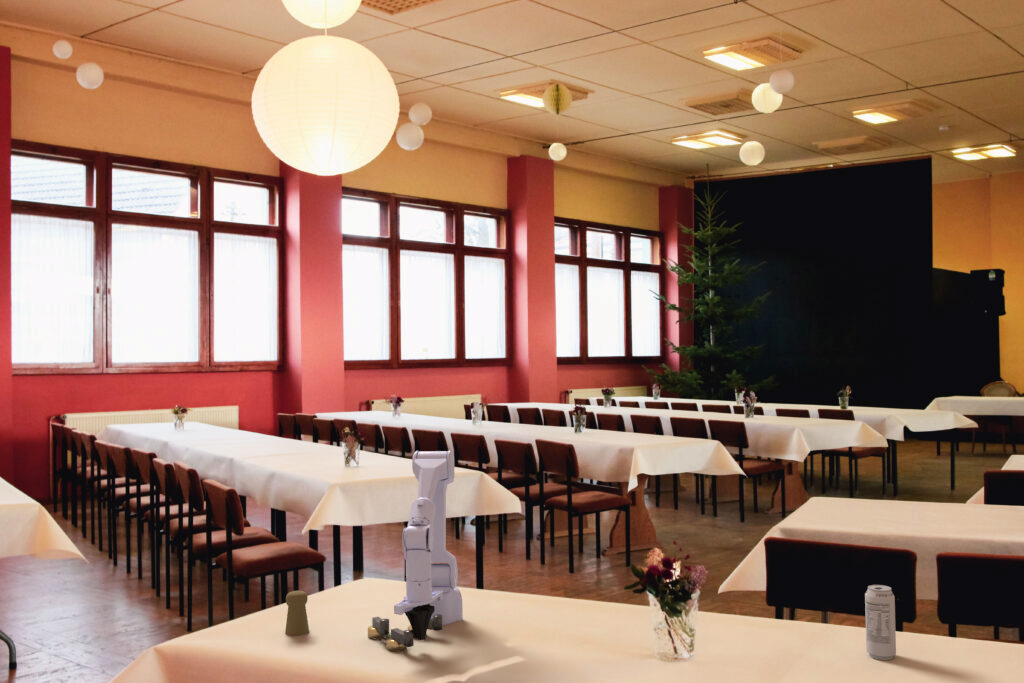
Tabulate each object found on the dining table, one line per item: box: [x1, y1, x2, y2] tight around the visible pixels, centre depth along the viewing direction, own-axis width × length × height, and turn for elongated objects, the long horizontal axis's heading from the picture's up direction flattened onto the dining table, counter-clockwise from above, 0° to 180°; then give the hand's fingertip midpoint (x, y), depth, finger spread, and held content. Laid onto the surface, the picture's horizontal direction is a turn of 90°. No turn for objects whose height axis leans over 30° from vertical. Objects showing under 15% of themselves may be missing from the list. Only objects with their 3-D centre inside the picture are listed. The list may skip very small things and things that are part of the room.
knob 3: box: [407, 614, 443, 632], centre depth 214 cm, size 9×4×5 cm, turn 67°
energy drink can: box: [864, 584, 897, 661], centre depth 198 cm, size 6×6×15 cm
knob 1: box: [367, 616, 390, 639], centre depth 214 cm, size 9×4×5 cm, turn 27°
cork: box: [284, 590, 310, 637], centre depth 220 cm, size 6×6×11 cm
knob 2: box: [386, 627, 415, 652], centre depth 204 cm, size 9×4×5 cm, turn 37°
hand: (419, 638), depth 204 cm, fingers closed
